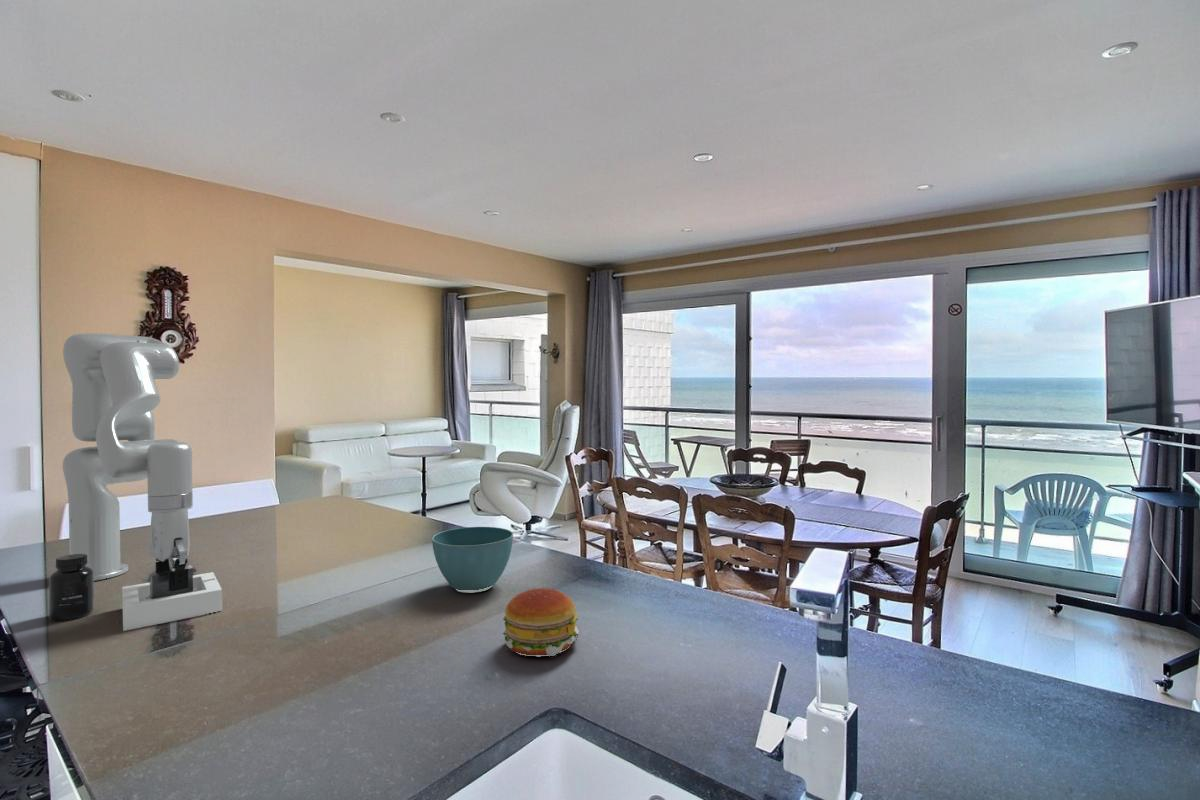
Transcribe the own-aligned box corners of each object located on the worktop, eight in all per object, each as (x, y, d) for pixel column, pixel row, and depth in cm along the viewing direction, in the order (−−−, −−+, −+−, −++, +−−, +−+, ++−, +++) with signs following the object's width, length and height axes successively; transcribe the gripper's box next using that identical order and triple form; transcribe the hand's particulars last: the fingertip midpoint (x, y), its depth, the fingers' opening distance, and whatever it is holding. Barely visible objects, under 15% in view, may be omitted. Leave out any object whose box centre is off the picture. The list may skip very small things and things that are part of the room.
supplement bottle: (67, 623, 117) (66, 562, 116) (39, 620, 118) (38, 560, 118) (103, 610, 123) (101, 553, 123) (76, 608, 125) (75, 551, 125)
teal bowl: (415, 595, 132) (414, 540, 132) (463, 572, 149) (463, 523, 149) (485, 606, 126) (484, 548, 125) (527, 580, 142) (527, 529, 142)
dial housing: (122, 608, 125) (122, 586, 125) (213, 591, 135) (213, 571, 135) (123, 631, 113) (122, 606, 113) (222, 611, 123) (222, 588, 123)
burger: (495, 638, 110) (494, 584, 110) (564, 626, 115) (564, 575, 115) (514, 670, 98) (514, 609, 97) (590, 655, 103) (590, 598, 103)
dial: (151, 613, 117) (150, 579, 117) (139, 602, 123) (139, 570, 123) (204, 600, 124) (203, 568, 124) (190, 591, 130) (190, 560, 130)
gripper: (137, 499, 126) (139, 579, 127) (159, 510, 115) (161, 598, 115) (179, 494, 132) (181, 571, 132) (204, 504, 121) (206, 588, 121)
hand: (171, 584), depth 124 cm, fingers open, 9 cm apart
